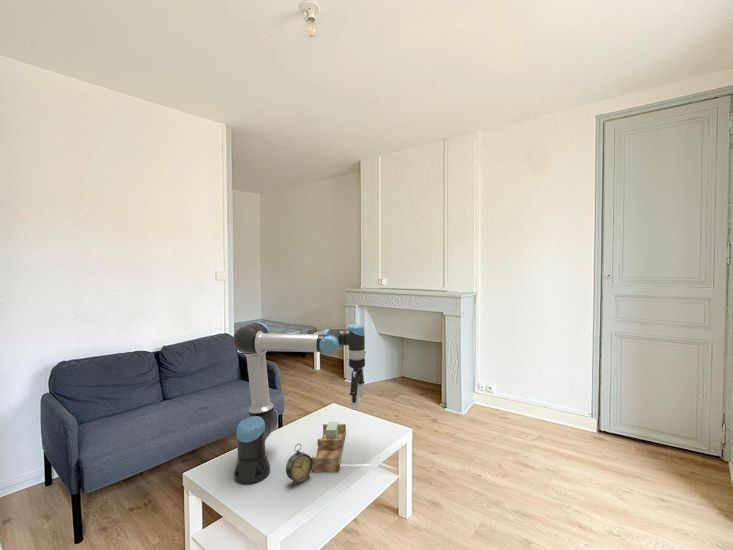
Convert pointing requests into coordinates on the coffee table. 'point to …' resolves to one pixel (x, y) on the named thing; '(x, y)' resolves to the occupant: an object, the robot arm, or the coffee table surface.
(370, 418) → the coffee table surface
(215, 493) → the coffee table surface
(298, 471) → the alarm clock
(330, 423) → the sage block
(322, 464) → the wooden rack
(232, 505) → the coffee table surface
